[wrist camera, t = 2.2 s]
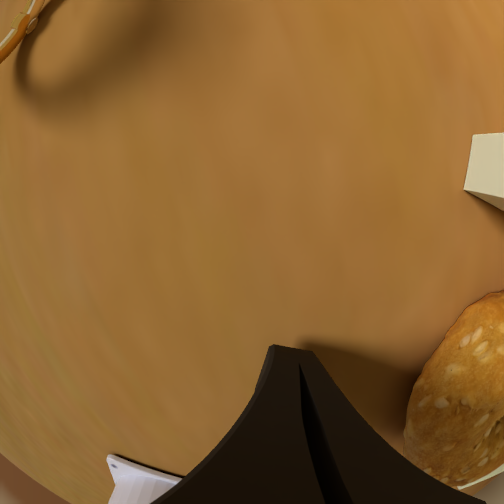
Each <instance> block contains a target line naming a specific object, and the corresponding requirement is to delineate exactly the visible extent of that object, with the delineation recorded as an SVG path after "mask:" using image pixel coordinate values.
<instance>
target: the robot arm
mask: <svg viewBox="0 0 504 504" xmlns="http://www.w3.org/2000/svg"><path fill="white" fill-rule="evenodd" d="M107 462H108V465H109V468H110V471H111V474H112V476H113V479H114V482H115V484H116V486H115V489H114V491H113V493H112V495H111V498H110V500H109V502H108V504H486V502H485V501H482V500H480V499H477V498H475V497H472V496H470V495H467V494H465V493H463V492H460V491H458V490H456V489H453V488H451V487H450V486H448V485H446V484H444V483H442V482H440V481H439V480H437V479H435V478H433V477H432V476H430V475H429V474H427V473H426V472H424V471H422V470H421V469H419V468H418V467H417V466H415V465H414V464H413V463H411V462H410V461H409V460H407V459H406V458H405V457H403V456H402V455H401V454H400V453H398V452H397V451H396V450H395V449H394V448H392V447H391V446H390V445H389V444H388V443H387V442H386V441H385V440H384V439H383V438H382V437H381V436H380V435H379V434H377V433H376V432H375V431H374V430H373V429H372V427H371V426H370V425H369V424H368V423H367V422H366V421H365V420H364V419H363V418H362V416H361V415H360V414H359V413H358V412H357V411H356V410H355V408H354V407H353V406H352V405H351V403H350V402H349V401H348V400H347V398H346V397H345V396H344V394H343V393H342V392H341V391H340V389H339V388H338V386H337V385H336V384H335V382H334V381H333V380H332V378H331V377H330V375H329V374H328V372H327V371H326V370H325V368H324V367H323V365H322V364H321V362H320V361H319V360H318V358H317V357H316V355H315V354H314V353H313V351H307V350H301V349H296V348H290V347H285V346H280V345H275V344H273V345H271V346H269V349H268V352H267V355H266V358H265V361H264V364H263V367H262V370H261V373H260V376H259V379H258V382H257V385H256V388H255V393H254V394H253V396H252V398H251V400H250V401H249V403H248V405H247V406H246V408H245V409H244V411H243V412H242V414H241V415H240V417H239V418H238V420H237V421H236V422H235V424H234V425H233V426H232V428H231V429H230V430H229V432H228V433H227V434H226V435H225V436H224V438H223V439H222V440H221V441H220V442H219V443H218V445H217V446H216V447H215V448H214V449H213V450H212V451H211V452H210V453H209V454H208V455H207V456H206V458H205V459H204V460H203V461H201V462H200V463H199V464H198V465H197V466H196V467H195V468H194V469H193V470H192V471H191V472H190V473H188V474H187V475H186V476H185V477H184V478H179V477H175V476H172V475H168V474H165V473H162V472H159V471H155V470H152V469H149V468H146V467H144V466H141V465H138V464H135V463H132V462H130V461H127V460H125V459H122V458H120V457H117V456H115V455H108V457H107Z"/></svg>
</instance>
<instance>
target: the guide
mask: <svg viewBox="0 0 504 504" xmlns="http://www.w3.org/2000/svg"><path fill="white" fill-rule="evenodd" d="M464 190H466V191H467V192H469V193H471V194H473V195H475V196H477V197H479V198H481V199H483V200H484V201H486V202H488V203H490V204H492V205H493V206H495V207H497V208H499V209H500V210H502V211H504V133H491V134H477V135H473V138H472V146H471V152H470V159H469V164H468V170H467V175H466V180H465V185H464ZM503 471H504V464H502V465H501V466H500V467H498V468H497V469H496V470H494V471H493V472H491V473H490V474H488V475H486V476H484V477H482V478H480V479H478V480H476V481H474V482H472V483H469V484H467V485H464V486H458V489H459V490H460V489H463V488H465V487H468V486H471V485H473V484H476V483H478V482H481V481H483V480H485V479H488V478H490V477H492V476H494V475H497V474H499V473H501V472H503Z"/></svg>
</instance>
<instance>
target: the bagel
mask: <svg viewBox="0 0 504 504" xmlns="http://www.w3.org/2000/svg"><path fill="white" fill-rule="evenodd" d="M403 436H404V438H405V443H404V450H403V454H404V456H405V458H406V459H407V460H409V461H410V462H411V463H413V464H414V465H415V466H417V467H418V468H419V469H421V470H422V471H424V472H426V473H427V474H429V475H430V476H432V477H433V478H435V479H437V480H439V481H440V482H442V483H444V484H446V485H448V486H450V487H451V486H464V485H467V484H469V483H472V482H474V481H476V480H478V479H480V478H482V477H484V476H486V475H488V474H490V473H491V472H493V471H494V470H496V469H497V468H498V467H500V466H501V465H502V464H504V290H503V291H500V293H489V294H487V295H486V296H484V297H483V298H482V299H481V300H479V301H477V302H475V303H474V304H472V305H469V306H468V307H467V308H466V309H465V310H464V311H463V313H462V314H461V315H460V316H459V317H458V319H457V321H456V323H455V324H454V325H453V326H452V327H450V329H449V330H448V331H447V333H446V335H445V338H444V340H443V341H442V342H441V344H440V345H439V347H438V348H437V349H436V350H435V351H434V353H433V354H432V356H431V358H430V359H429V360H428V361H427V362H426V363H425V365H424V367H423V370H422V374H421V375H420V376H419V377H418V379H417V381H416V382H415V384H414V386H413V391H412V394H411V396H410V400H409V403H408V407H407V416H406V427H405V429H404V432H403Z"/></svg>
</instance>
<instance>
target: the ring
mask: <svg viewBox="0 0 504 504" xmlns="http://www.w3.org/2000/svg"><path fill="white" fill-rule="evenodd" d="M44 2H45V0H28V1H27V4H26V6H25V8H24V10H23V12H22V13H19V14H18V15H17V16H16V17H15V18H14V20H13V21H12V24H11V28H12V30H11V31H10V33H9V34H8V35H7V36H6V38H5V39H4V40H3V41H2V42H1V43H0V64H1V63H2V62H3V61H4V60H5V59H6V58H7V57H8V56H9V55H10V54H11V52H12V51H13V50H14V49H15V48H16V47H17V45H18V44H19V43H20V42H21V40H22V39H23V38H24V36H25V35H26V34H29V33H31V32H32V31H33V29H34V28H35V27H36V25H37V23H38V18H37V16H38V14H39V13H40V11H41V9H42V6H43V4H44Z"/></svg>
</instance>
